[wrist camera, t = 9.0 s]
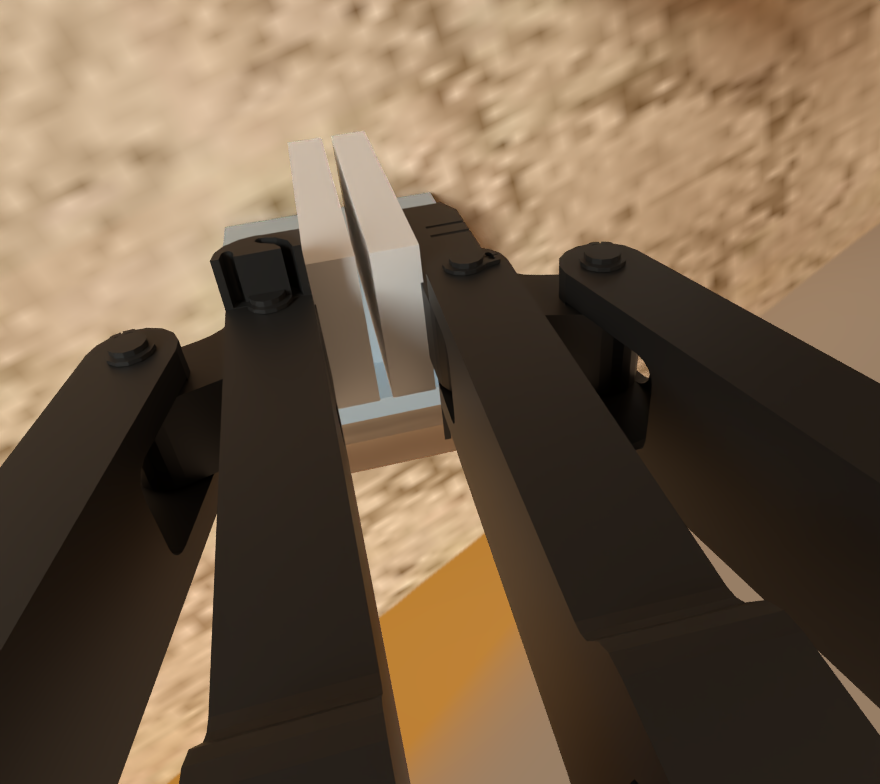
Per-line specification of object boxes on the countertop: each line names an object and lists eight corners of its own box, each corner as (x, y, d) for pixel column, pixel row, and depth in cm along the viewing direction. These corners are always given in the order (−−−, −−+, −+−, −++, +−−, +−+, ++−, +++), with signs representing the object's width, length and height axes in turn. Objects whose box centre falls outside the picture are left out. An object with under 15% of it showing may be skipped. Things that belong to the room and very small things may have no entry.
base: (243, 400, 40) (242, 467, 35) (475, 353, 42) (504, 411, 37) (264, 463, 43) (265, 533, 38) (480, 417, 45) (507, 479, 40)
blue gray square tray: (225, 227, 34) (221, 261, 31) (430, 192, 35) (447, 221, 32) (274, 395, 40) (276, 438, 37) (447, 360, 41) (464, 399, 38)
